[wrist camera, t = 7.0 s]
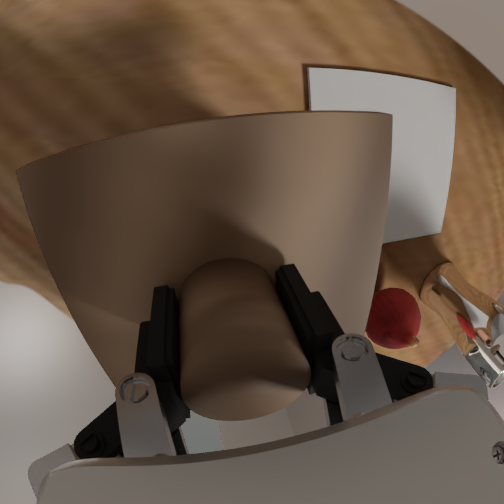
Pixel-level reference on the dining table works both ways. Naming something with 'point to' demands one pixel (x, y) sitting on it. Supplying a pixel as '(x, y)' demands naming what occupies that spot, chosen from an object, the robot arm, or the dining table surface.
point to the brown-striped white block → (276, 423)
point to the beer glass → (468, 320)
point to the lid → (217, 242)
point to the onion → (393, 319)
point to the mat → (401, 140)
